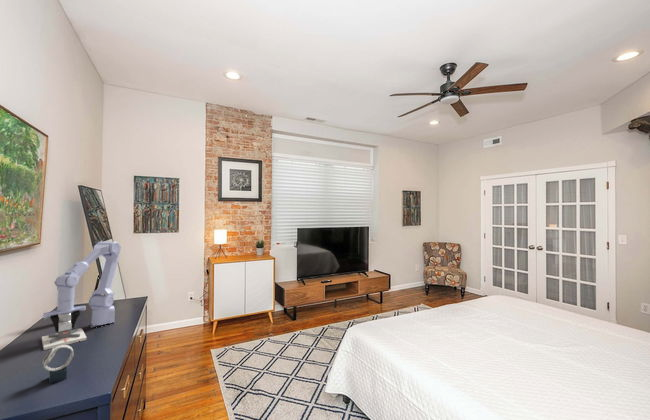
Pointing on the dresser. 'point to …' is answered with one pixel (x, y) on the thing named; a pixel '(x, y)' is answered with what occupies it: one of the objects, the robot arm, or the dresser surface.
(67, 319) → the silver twisted sculpture
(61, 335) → the stand base
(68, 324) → the column
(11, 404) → the dresser surface
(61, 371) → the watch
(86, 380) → the dresser surface
